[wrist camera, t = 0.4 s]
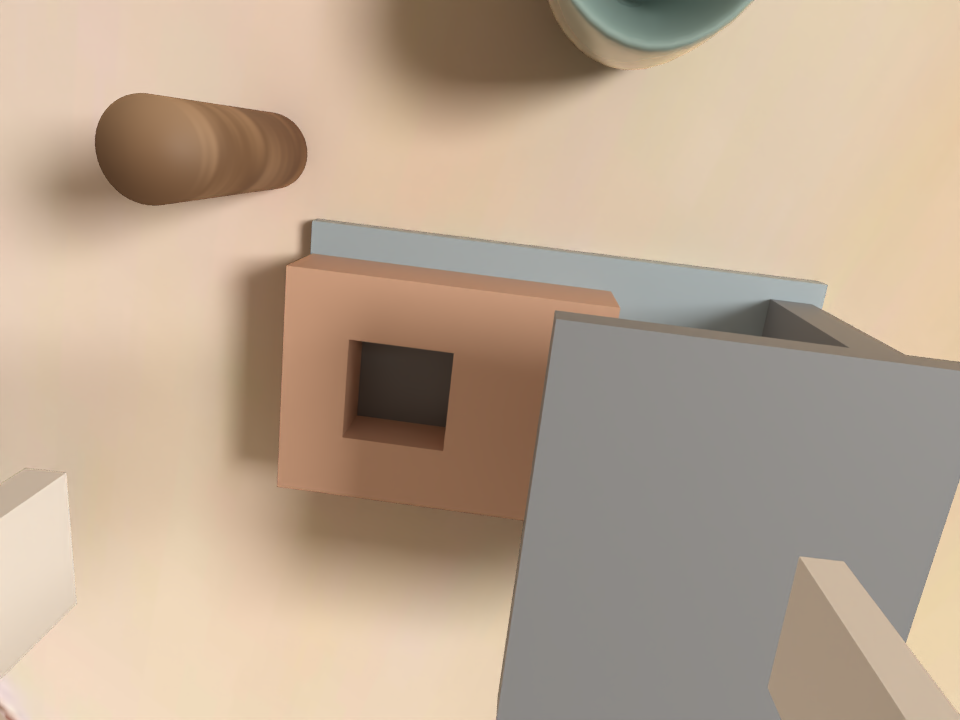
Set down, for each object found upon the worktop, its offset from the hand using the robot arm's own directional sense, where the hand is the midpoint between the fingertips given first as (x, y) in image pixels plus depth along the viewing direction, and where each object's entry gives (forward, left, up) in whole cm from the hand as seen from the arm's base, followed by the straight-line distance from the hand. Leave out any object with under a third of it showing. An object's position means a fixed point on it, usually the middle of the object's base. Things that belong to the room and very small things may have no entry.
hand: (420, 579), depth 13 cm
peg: (-6, -12, -25) cm, 28 cm away
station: (+4, +3, -25) cm, 26 cm away
